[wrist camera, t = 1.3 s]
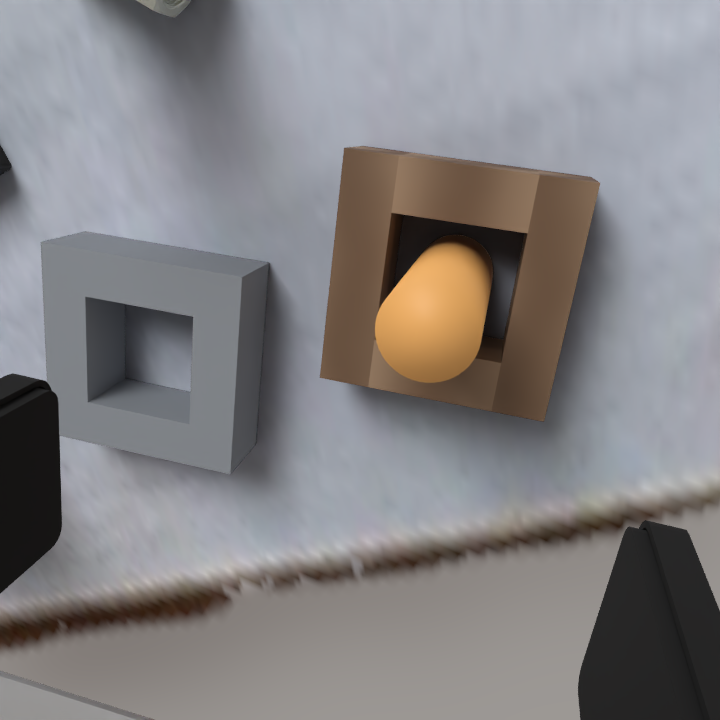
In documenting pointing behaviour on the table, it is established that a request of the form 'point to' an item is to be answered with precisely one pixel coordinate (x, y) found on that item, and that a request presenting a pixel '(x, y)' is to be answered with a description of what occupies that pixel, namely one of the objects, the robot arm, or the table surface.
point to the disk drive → (4, 162)
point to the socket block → (107, 347)
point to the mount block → (467, 206)
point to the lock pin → (437, 311)
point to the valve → (166, 6)
